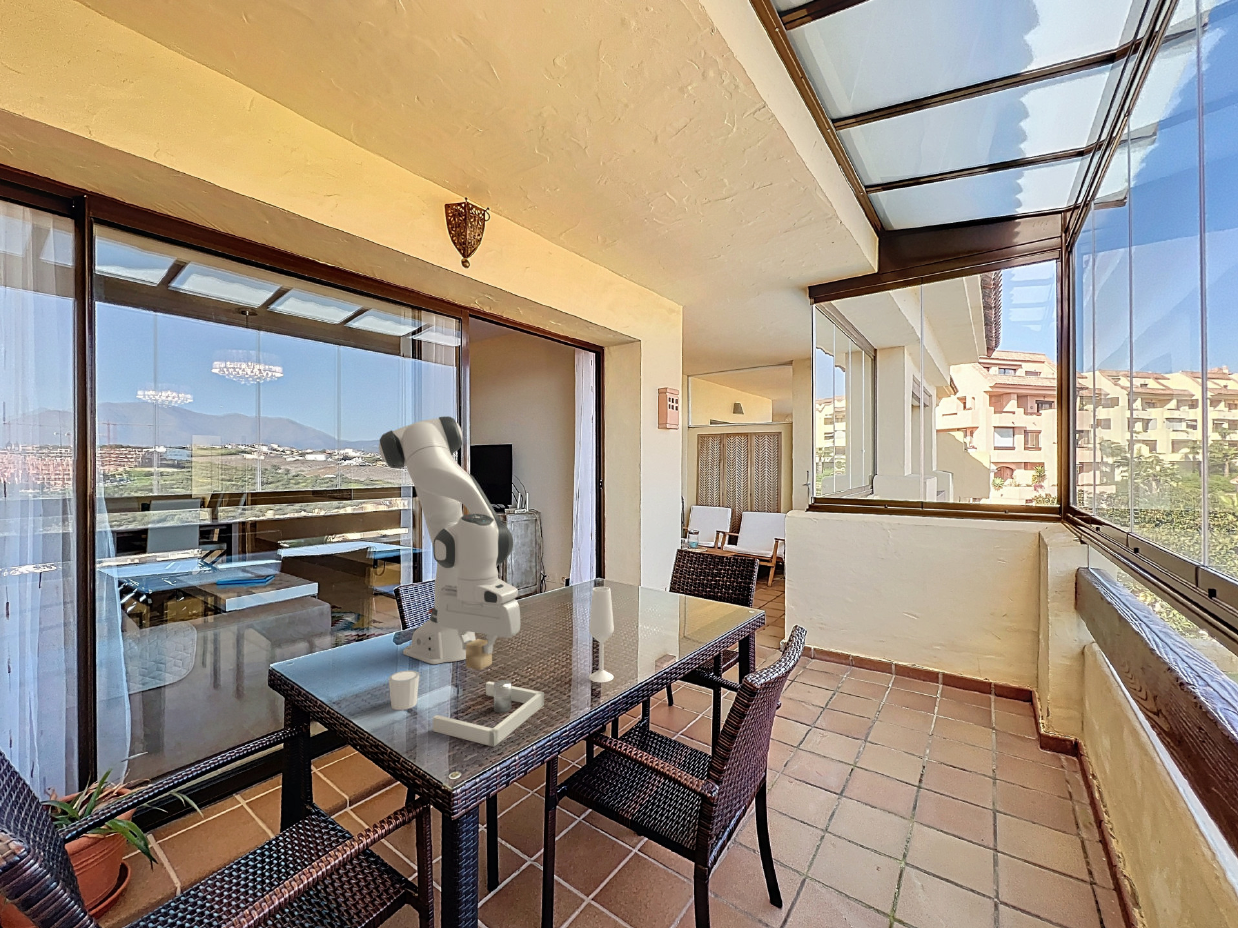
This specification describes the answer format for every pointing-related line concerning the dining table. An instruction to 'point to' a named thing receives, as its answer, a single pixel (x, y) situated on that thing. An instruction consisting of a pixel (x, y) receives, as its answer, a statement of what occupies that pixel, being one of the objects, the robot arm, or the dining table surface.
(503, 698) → the steel part
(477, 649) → the oak block
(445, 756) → the dining table surface
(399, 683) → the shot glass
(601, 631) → the champagne flute
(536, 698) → the frame
